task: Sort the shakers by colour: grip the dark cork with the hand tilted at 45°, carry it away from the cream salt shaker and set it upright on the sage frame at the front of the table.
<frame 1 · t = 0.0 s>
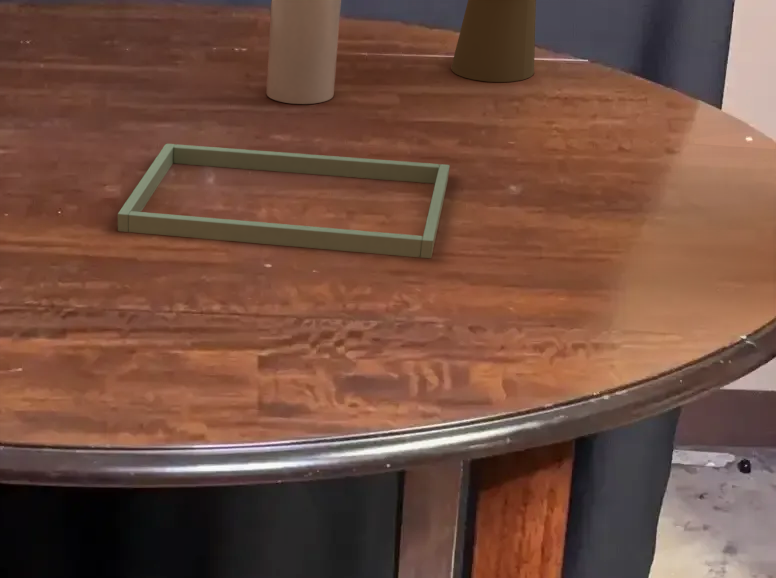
cork: (492, 72, 112), on the table
sage frame: (287, 223, 87), on the table
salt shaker: (299, 94, 108), on the table
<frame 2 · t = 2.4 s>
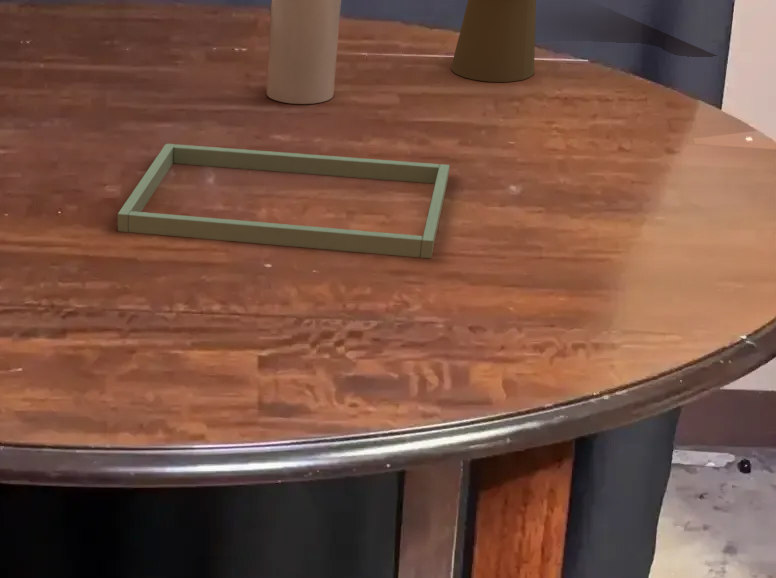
nothing on the table moved.
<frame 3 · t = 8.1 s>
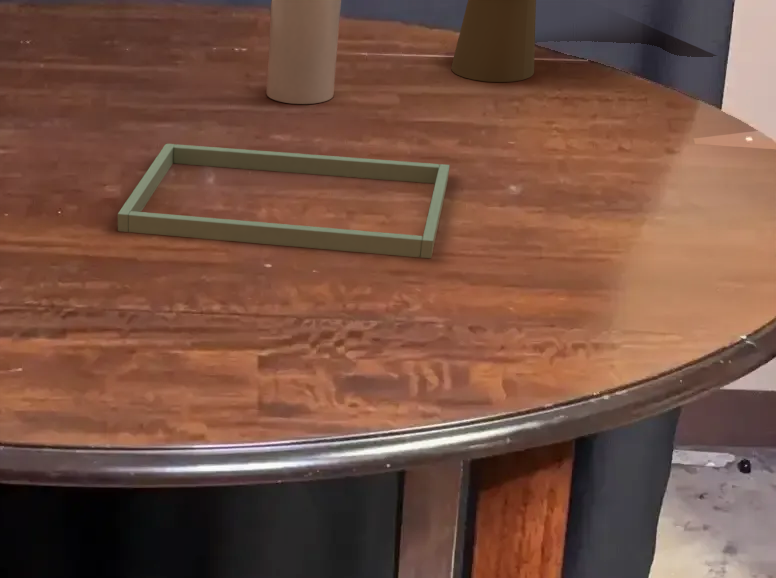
cork: (492, 72, 112), on the table, touching gripper
everything else where it was.
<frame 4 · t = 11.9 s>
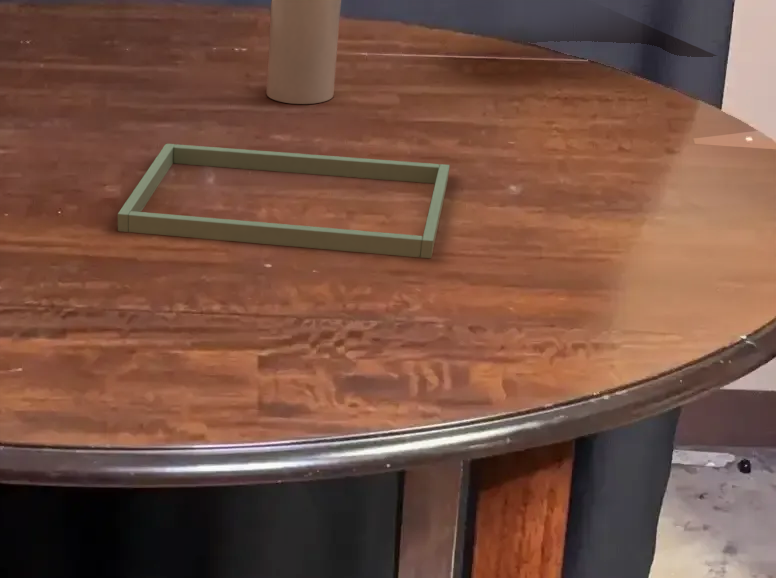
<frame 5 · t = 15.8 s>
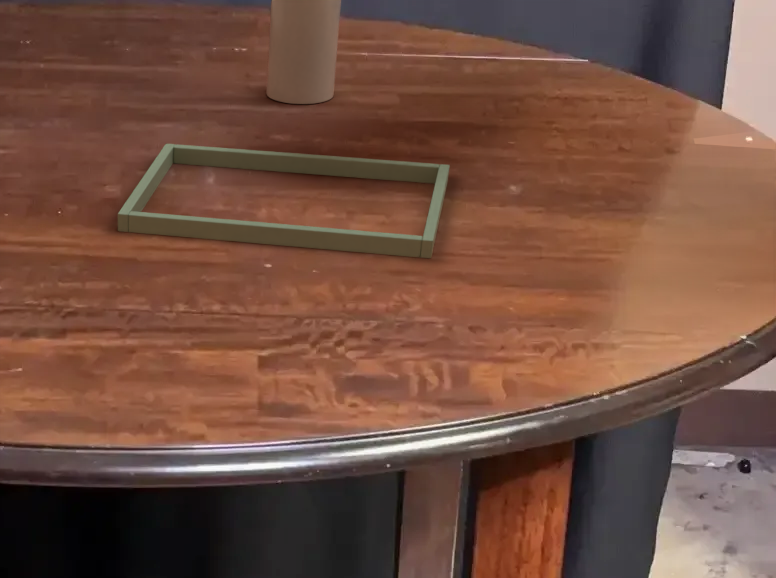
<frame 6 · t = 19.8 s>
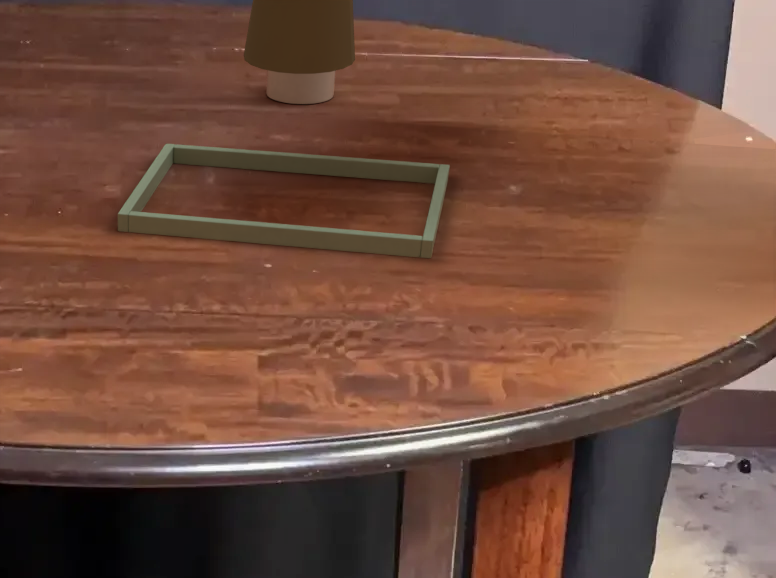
cork: (298, 61, 82), point 9 cm above the table, touching gripper
everything else where it was.
when the fingers open (8 cm above the table, at t = 23.3 s): cork stays where it is, resting on sage frame.
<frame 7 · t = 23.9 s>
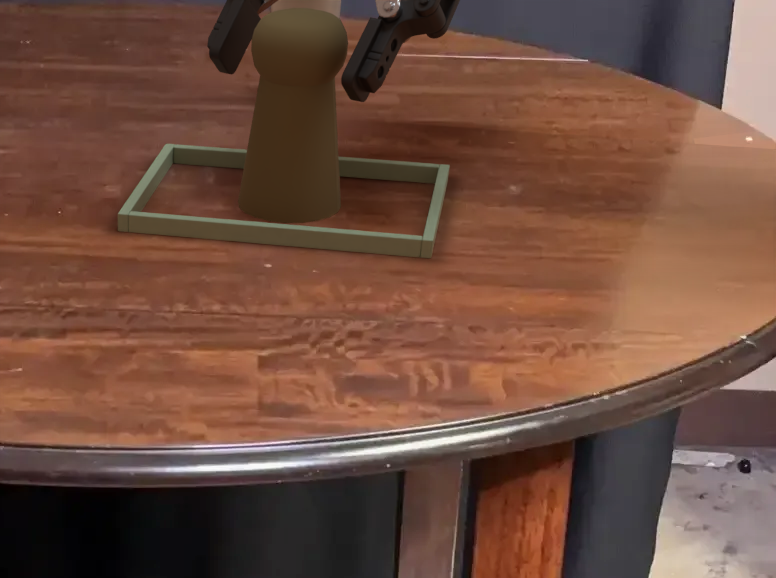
hand: (283, 79, 82), 8 cm above the table, tool tilted 45°, fingers open, 8 cm apart
cork: (288, 215, 87), resting on sage frame
everything else where it was.
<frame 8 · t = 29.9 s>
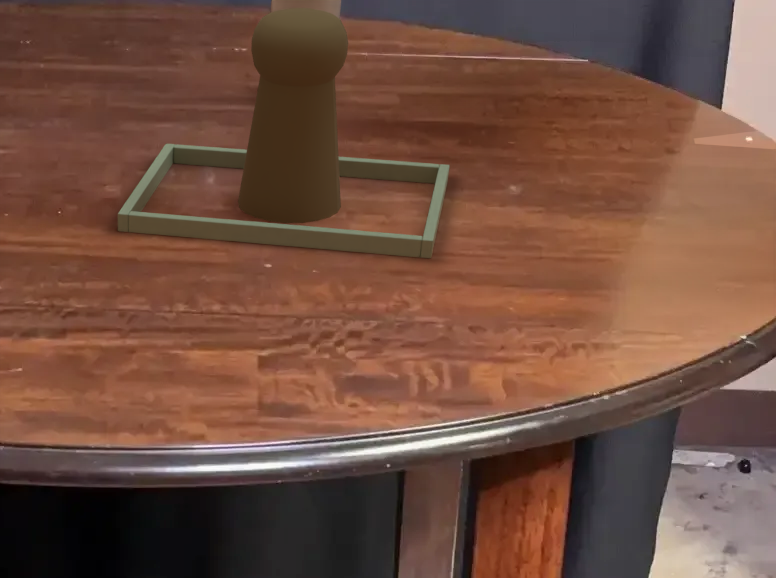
nothing on the table moved.
at the end: cork inside the target area in the sage frame (0.2 cm from its centre), point 0.4 cm above the sage frame's base; cork tilted 0°; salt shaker moved 0.0 cm from its start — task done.
